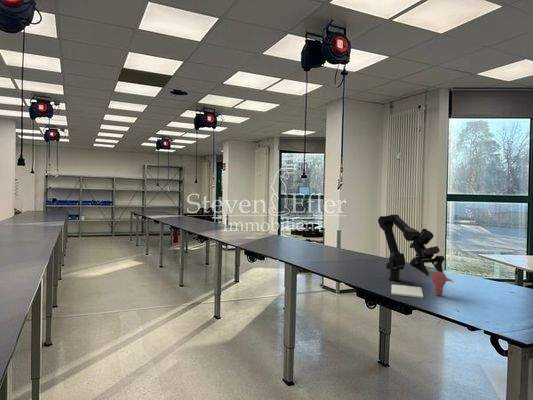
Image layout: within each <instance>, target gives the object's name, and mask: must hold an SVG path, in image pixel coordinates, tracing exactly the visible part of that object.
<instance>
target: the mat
mask: <svg viewBox="0 0 533 400" xmlns="http://www.w3.org/2000/svg"><path fill="white" fill-rule="evenodd" d="M390 294H391V295H393V296H401V297H402V296H403V297H409V298H410V297H411V298H421V299H424V293H423V289H422V287H419V286H410V285H401V284H391V293H390Z"/></svg>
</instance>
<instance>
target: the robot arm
mask: <svg viewBox="0 0 533 400" xmlns="http://www.w3.org/2000/svg"><path fill="white" fill-rule="evenodd" d="M377 221H378V225H379V227H380V229H381V230H382V231H383V233H384V236H385V239H386V243H387V247H388V250H389V257H388V262H387V263H386V266H385V267H386V269H387V270H389V276H388V280H389V281H394V282H395V281H396V282H397V281H398V282H400V281H401V278H400V277H401V276H400V275H401V271H402V270H404V268H405V266H406V258H405V255H404V253H402V252H400V251H399V247H398V244H397V243H398V242H397V241H396V237H395V233H394V230H393V228H394V225H395V226H396V227H397V229H399V230H400V231H401V232H402V234H403V237H404V239H405V240H406V241H407V242H410V245H409V249H413V250H414V252H415V256H413V258H411V260H410V262H409V264H410V267H411V268H414V269H416V270H418V271H419V272H421V273H422V274H423V273H424V274H425V276H426V275H427V277H429V276H430V273H428V271H427V269H426V267H425V266H426V265H425V264H431V265H433V268H434V269H435V270H436V272H437V271H439V272H442V273H444V270H443V263H444V261H446V258H445V256H444V255H436V254H439V253H440V251H441V250H440V248H439V246H437V245H434V246H431V247H426V245H428V244H429V243H430V242H431V241H432V240H433V238H434V233H433V232H431V231H430V230H427V228H422V230H421V231H419V230H417V229H416V228H413V227H411V226H409V224H407V223H406V222H405V221H404V220H403V219H402V218H401V217H400V215H398V214H389V215H385V216H384V215H382V216H381V215H380V216H379V218H378V219H377ZM435 255H436V256H435ZM433 257H434V258H433Z"/></svg>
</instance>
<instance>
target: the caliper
mask: <svg viewBox="0 0 533 400" xmlns="http://www.w3.org/2000/svg"><path fill="white" fill-rule="evenodd" d="M425 267H426V269H427V271H428V273H429V275H431V276H432V274H433V273H434V272H436V271H435V270H433V269H431V268H429V266H427V265H425ZM422 274H423V276H427V275H426V274H424V273H423V272H422ZM427 277H428V276H427ZM446 278H447V280H448V281H447V280H446V281H447V282H450V281H452V283H454V280H452V278H449V277H447V276H446Z"/></svg>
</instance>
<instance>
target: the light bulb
mask: <svg viewBox="0 0 533 400" xmlns="http://www.w3.org/2000/svg"><path fill="white" fill-rule="evenodd" d="M446 277H447V275H446V274H445V273H444V272H443V273H442V272H439V271H437V270H436V271H435V272H434V273H433V274H432V275H431V278H430V279H431V282H432V285H433V289H434V295H436V296H442V295H443V290H444V286H445V285H446V283H447V278H448V277H447V278H446Z"/></svg>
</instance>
